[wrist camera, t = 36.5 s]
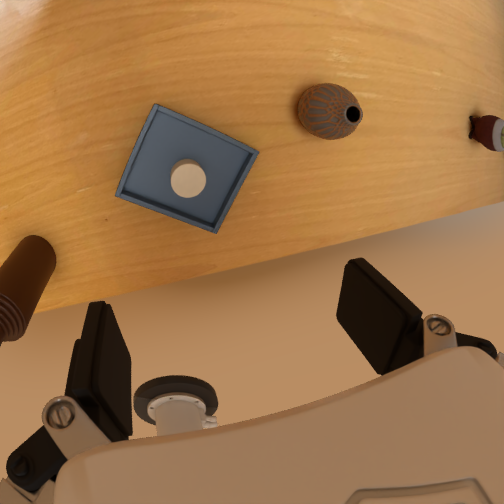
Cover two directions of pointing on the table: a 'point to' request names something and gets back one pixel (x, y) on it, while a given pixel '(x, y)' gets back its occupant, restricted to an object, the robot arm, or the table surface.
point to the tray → (175, 149)
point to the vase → (329, 111)
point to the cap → (187, 178)
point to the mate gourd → (488, 132)
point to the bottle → (23, 284)
